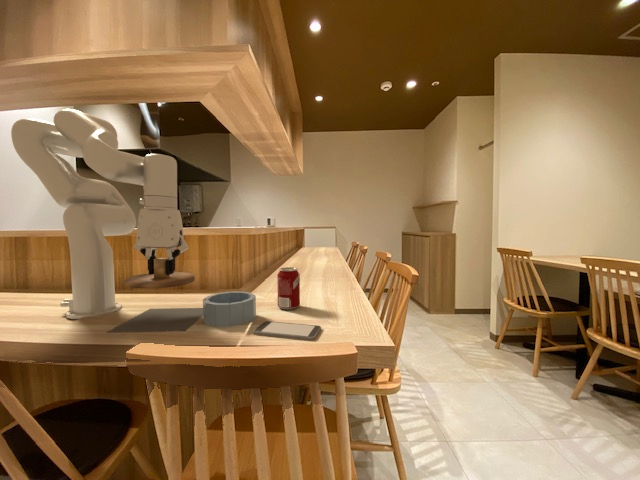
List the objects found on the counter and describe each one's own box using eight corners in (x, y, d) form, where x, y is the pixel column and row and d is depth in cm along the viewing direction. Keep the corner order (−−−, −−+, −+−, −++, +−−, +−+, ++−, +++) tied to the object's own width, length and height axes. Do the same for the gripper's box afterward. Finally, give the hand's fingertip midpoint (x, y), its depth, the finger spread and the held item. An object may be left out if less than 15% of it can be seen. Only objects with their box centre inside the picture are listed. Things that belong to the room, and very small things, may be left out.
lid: (108, 288, 65) (108, 262, 65) (147, 274, 81) (147, 254, 81) (178, 289, 66) (178, 264, 65) (203, 275, 82) (203, 255, 81)
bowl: (196, 329, 68) (195, 305, 67) (214, 312, 81) (213, 291, 80) (249, 328, 68) (249, 304, 68) (258, 311, 81) (258, 291, 81)
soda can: (289, 312, 80) (288, 271, 80) (273, 308, 85) (272, 269, 84) (304, 306, 86) (304, 268, 85) (288, 303, 90) (288, 266, 89)
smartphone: (265, 320, 72) (321, 325, 68) (265, 324, 72) (321, 330, 68) (251, 331, 65) (313, 337, 61) (251, 336, 65) (313, 342, 61)
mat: (106, 334, 64) (106, 332, 64) (150, 310, 82) (150, 308, 82) (185, 333, 65) (185, 330, 65) (211, 309, 83) (211, 307, 83)
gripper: (118, 202, 68) (119, 276, 69) (187, 204, 69) (187, 277, 70) (137, 203, 75) (138, 270, 77) (199, 205, 76) (199, 272, 77)
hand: (161, 273), depth 73 cm, fingers closed on lid, 3 cm apart
